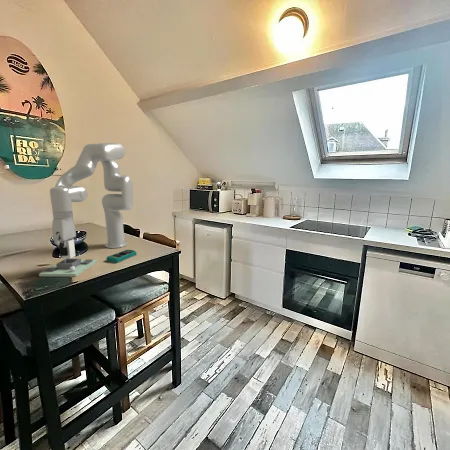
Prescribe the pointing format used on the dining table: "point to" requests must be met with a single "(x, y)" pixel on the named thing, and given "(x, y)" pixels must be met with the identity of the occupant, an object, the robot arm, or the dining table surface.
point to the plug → (69, 249)
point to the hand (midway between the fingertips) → (67, 253)
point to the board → (68, 268)
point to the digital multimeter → (121, 256)
